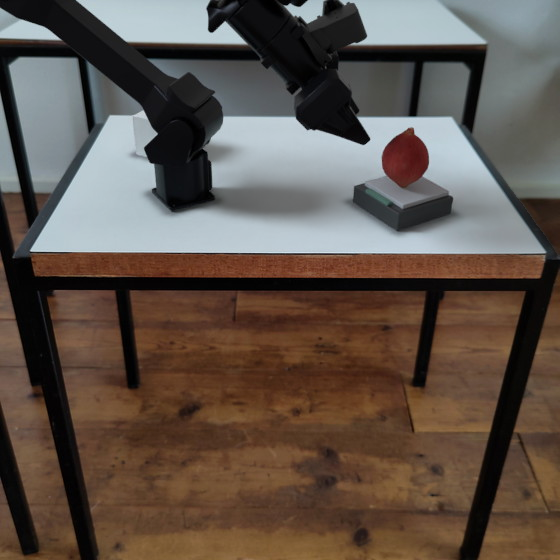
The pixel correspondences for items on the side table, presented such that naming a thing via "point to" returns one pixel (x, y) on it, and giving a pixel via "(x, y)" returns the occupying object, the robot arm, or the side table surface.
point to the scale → (403, 201)
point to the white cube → (142, 132)
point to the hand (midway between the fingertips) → (361, 127)
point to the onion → (405, 158)
